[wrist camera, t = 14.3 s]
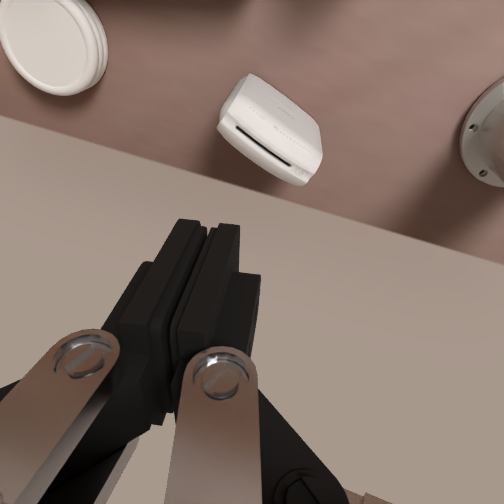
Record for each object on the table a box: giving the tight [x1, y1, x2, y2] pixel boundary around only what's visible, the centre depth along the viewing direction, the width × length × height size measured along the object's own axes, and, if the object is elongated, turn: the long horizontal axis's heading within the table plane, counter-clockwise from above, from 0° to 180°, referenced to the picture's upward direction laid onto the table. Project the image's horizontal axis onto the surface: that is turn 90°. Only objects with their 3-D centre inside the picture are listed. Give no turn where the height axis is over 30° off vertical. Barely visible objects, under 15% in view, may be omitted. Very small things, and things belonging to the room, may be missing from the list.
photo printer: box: [217, 73, 323, 186], centre depth 36 cm, size 10×4×12 cm, turn 56°
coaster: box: [0, 0, 108, 96], centre depth 38 cm, size 10×10×4 cm
